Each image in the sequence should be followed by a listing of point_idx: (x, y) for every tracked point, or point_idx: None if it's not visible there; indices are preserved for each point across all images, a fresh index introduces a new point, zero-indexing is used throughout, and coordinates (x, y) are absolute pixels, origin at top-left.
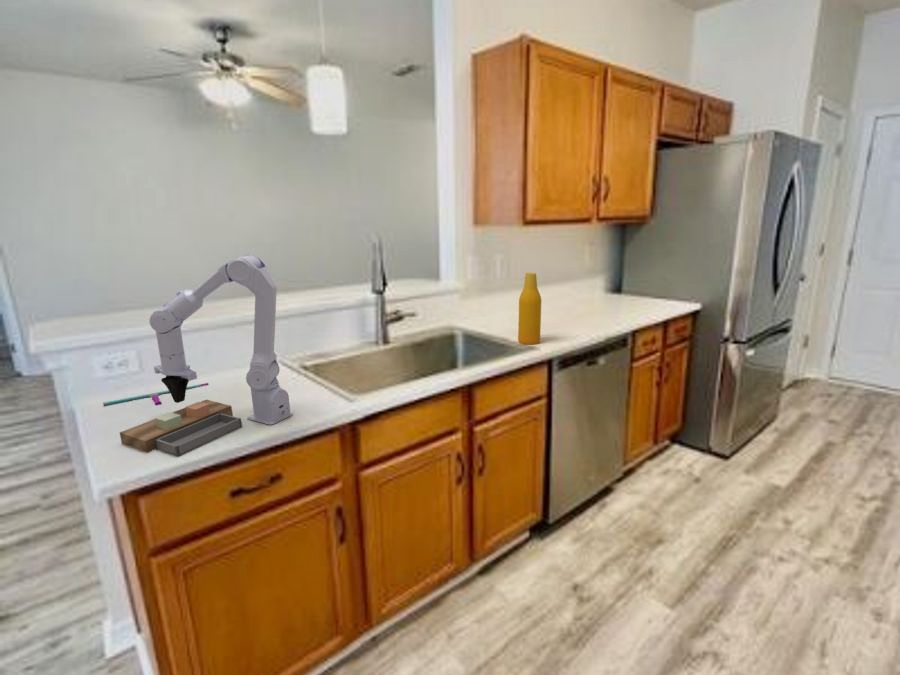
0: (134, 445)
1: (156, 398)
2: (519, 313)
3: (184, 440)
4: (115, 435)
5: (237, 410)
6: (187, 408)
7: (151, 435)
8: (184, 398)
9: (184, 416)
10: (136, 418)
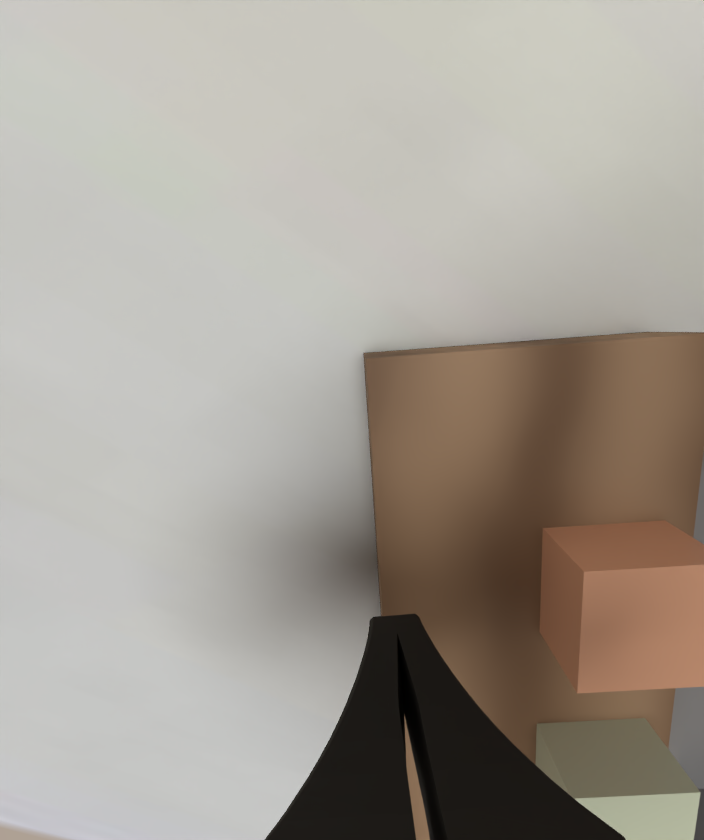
0: None
1: None
2: None
3: (686, 702)
4: (264, 808)
5: (594, 242)
6: (602, 683)
7: None
8: (423, 627)
9: (538, 645)
10: (109, 665)
